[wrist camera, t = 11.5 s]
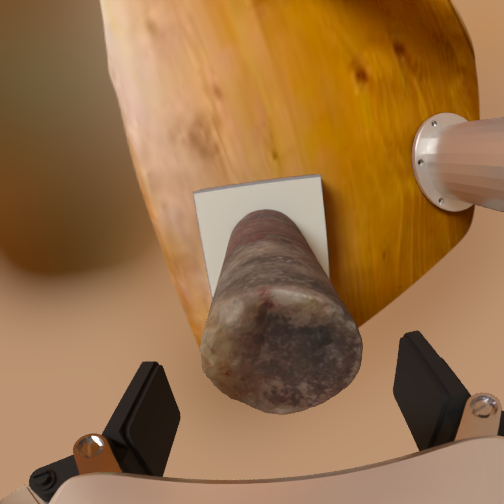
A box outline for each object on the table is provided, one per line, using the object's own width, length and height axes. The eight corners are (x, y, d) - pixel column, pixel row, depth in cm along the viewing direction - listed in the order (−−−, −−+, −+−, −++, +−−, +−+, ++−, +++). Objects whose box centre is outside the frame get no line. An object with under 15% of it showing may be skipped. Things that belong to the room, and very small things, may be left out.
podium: (315, 174, 33) (322, 175, 29) (325, 283, 37) (332, 296, 33) (199, 189, 34) (191, 192, 30) (218, 297, 37) (213, 311, 33)
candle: (315, 260, 32) (383, 386, 12) (253, 292, 33) (246, 442, 13) (280, 195, 30) (319, 244, 11) (216, 230, 31) (151, 330, 12)
